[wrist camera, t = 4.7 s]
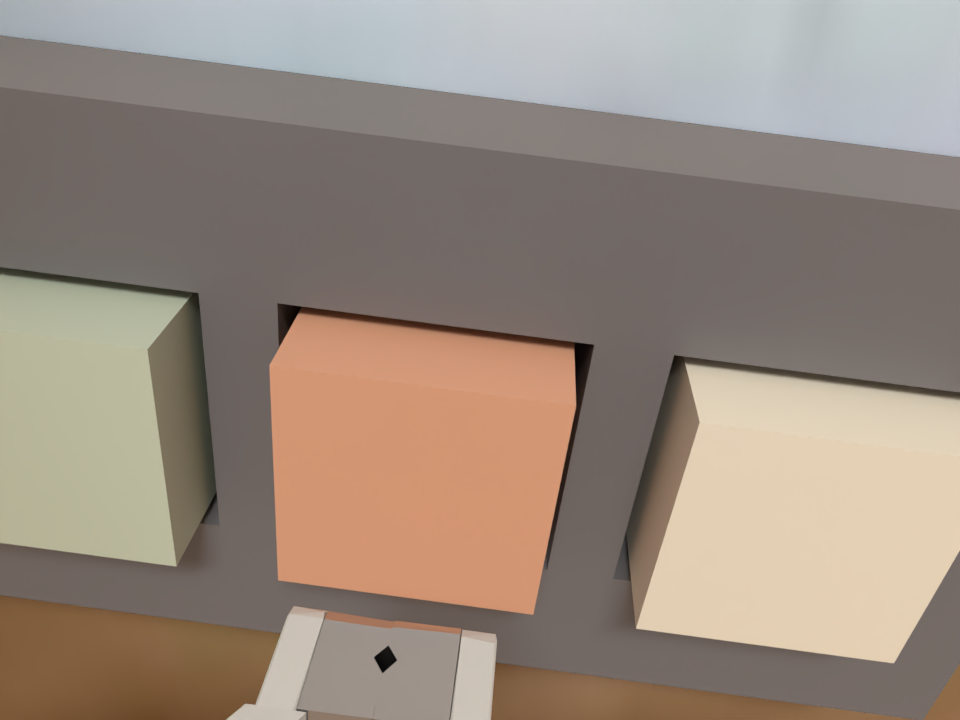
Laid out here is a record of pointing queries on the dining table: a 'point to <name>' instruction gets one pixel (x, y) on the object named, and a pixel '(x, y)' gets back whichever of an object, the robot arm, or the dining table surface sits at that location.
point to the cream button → (795, 509)
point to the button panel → (480, 310)
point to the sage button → (102, 417)
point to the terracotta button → (418, 457)
